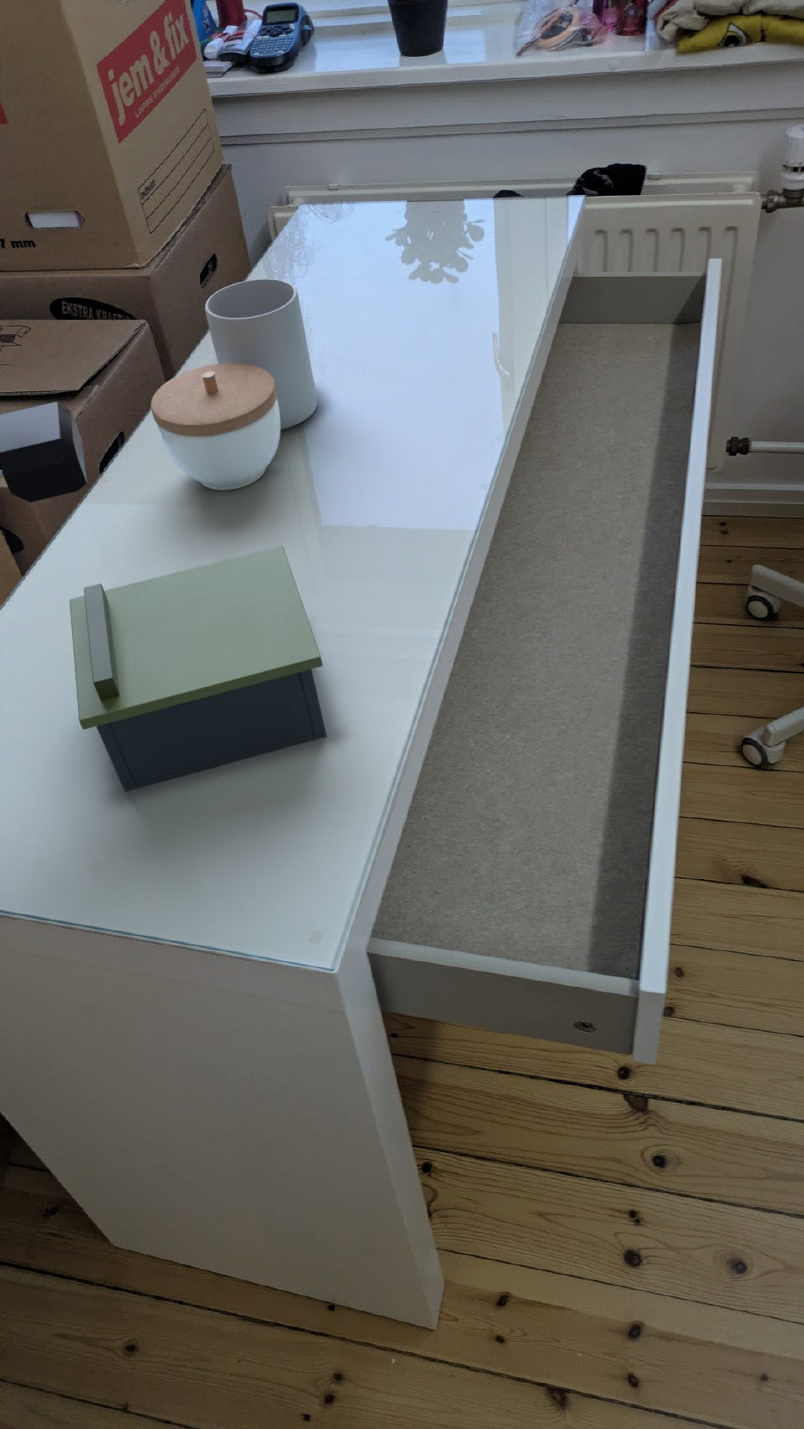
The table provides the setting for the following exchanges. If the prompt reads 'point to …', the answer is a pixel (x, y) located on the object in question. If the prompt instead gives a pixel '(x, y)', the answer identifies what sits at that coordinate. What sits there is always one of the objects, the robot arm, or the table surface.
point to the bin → (214, 730)
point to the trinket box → (220, 423)
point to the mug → (266, 340)
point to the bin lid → (188, 636)
